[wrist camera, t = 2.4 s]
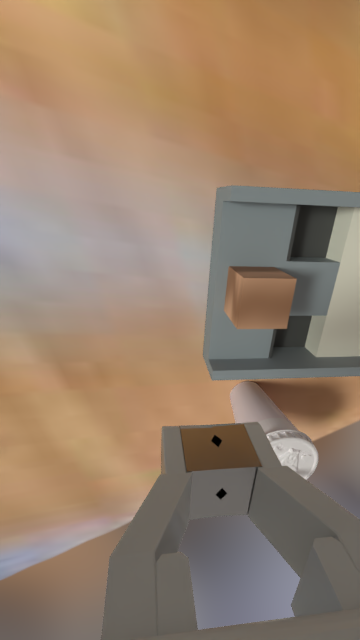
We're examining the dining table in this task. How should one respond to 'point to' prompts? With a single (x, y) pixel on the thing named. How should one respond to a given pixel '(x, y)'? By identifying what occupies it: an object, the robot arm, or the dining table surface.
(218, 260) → the board
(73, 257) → the dining table surface
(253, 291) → the terracotta block
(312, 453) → the smoothie
